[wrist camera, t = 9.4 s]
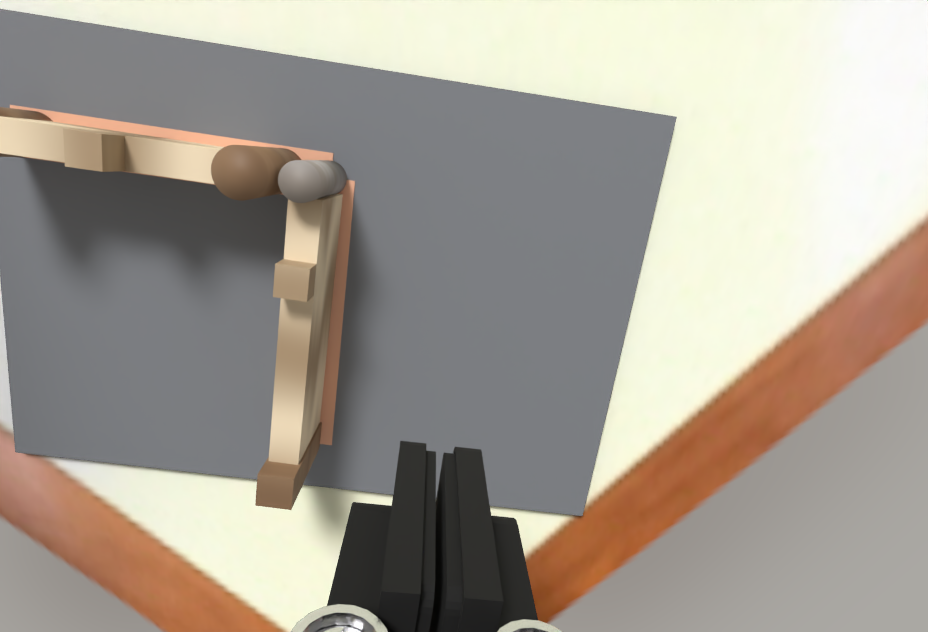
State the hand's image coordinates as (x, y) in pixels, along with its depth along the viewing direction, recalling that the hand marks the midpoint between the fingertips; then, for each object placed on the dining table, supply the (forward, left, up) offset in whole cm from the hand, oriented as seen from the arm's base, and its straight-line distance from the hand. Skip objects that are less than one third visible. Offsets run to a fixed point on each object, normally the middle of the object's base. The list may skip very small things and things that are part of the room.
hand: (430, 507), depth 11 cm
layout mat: (-5, 0, -15) cm, 16 cm away
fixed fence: (-12, +5, -14) cm, 20 cm away
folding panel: (-6, -1, -14) cm, 15 cm away
